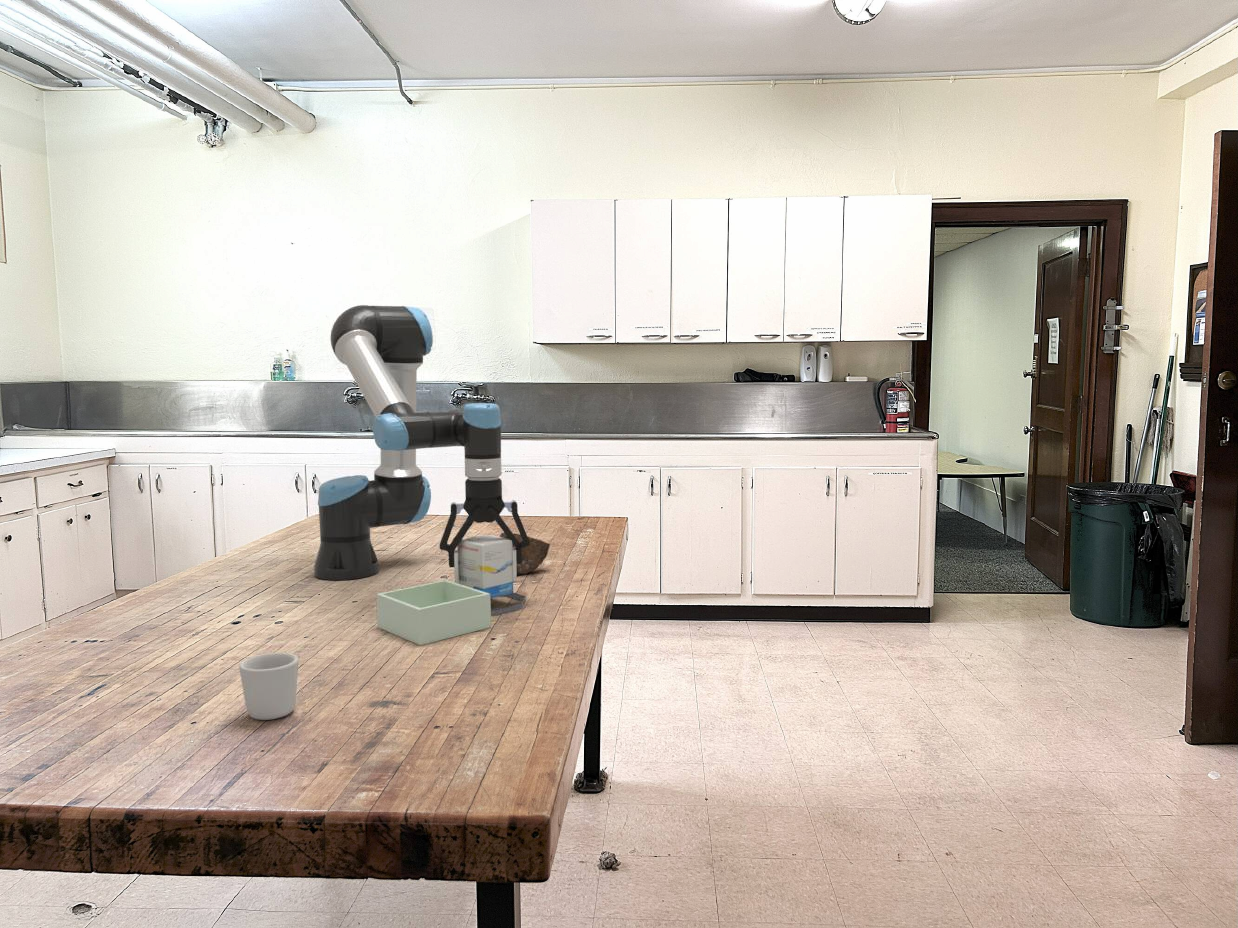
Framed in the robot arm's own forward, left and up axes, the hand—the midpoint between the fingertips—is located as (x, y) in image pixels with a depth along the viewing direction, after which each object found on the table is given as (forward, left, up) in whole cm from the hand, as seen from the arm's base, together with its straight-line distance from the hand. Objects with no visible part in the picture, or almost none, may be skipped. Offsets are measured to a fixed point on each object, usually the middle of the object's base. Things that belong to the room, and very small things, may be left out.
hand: (485, 580), depth 186 cm
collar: (0, 0, -5) cm, 5 cm away
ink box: (0, 0, -3) cm, 3 cm away
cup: (+25, -56, -5) cm, 61 cm away
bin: (+6, -17, -5) cm, 18 cm away
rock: (-18, +22, -5) cm, 29 cm away
